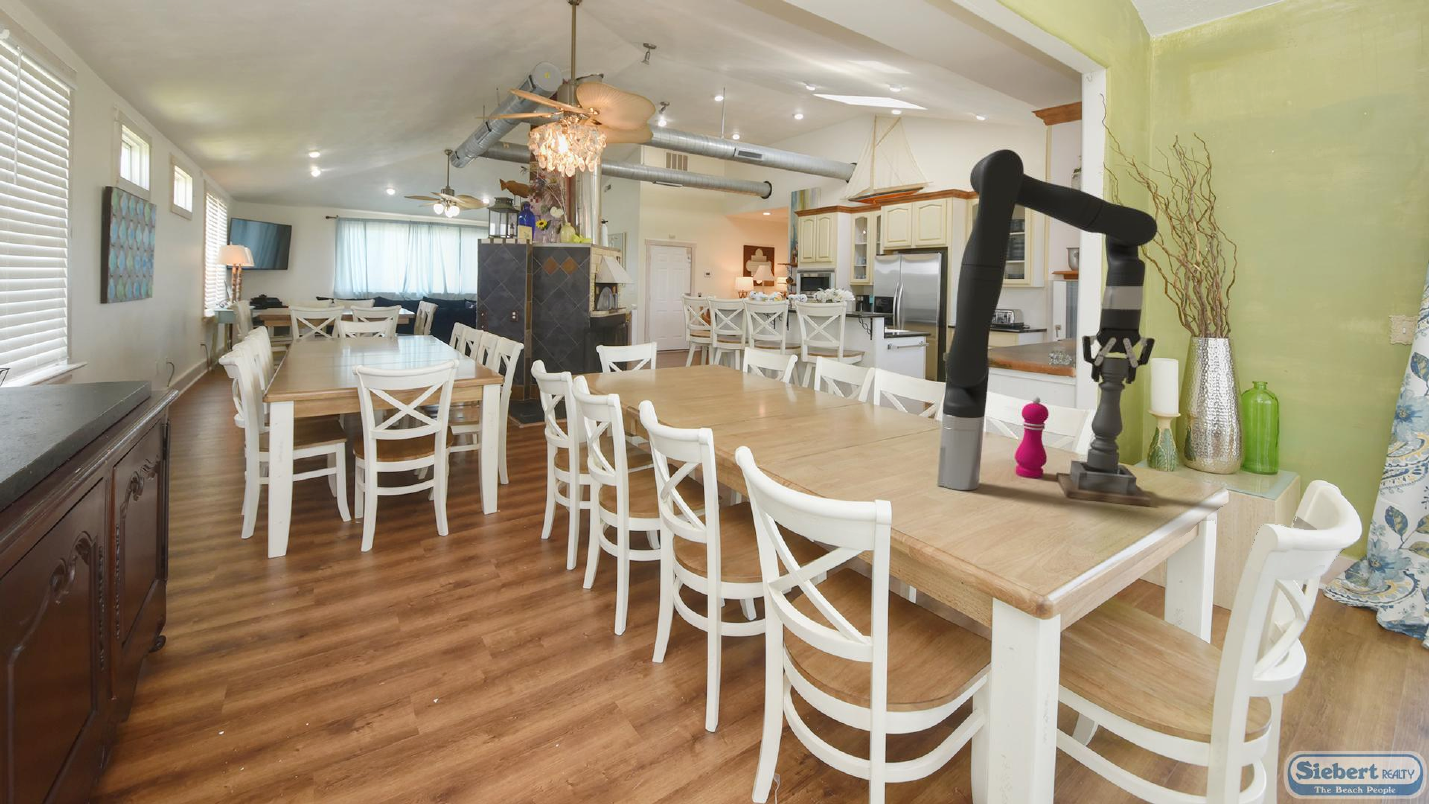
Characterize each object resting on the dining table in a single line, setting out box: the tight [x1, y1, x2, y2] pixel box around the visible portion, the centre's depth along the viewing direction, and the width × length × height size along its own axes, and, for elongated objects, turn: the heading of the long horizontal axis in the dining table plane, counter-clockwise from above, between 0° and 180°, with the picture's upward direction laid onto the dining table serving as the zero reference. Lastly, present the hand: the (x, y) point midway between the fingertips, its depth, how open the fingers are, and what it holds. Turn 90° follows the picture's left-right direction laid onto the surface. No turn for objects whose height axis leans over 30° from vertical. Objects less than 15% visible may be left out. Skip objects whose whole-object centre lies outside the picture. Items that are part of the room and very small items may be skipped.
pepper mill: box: [1014, 396, 1050, 479], centre depth 159 cm, size 7×7×20 cm
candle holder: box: [1086, 356, 1130, 470], centre depth 144 cm, size 6×6×25 cm
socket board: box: [1055, 460, 1152, 507], centre depth 147 cm, size 16×16×6 cm
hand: (1112, 382), depth 143 cm, fingers closed on candle holder, 5 cm apart
